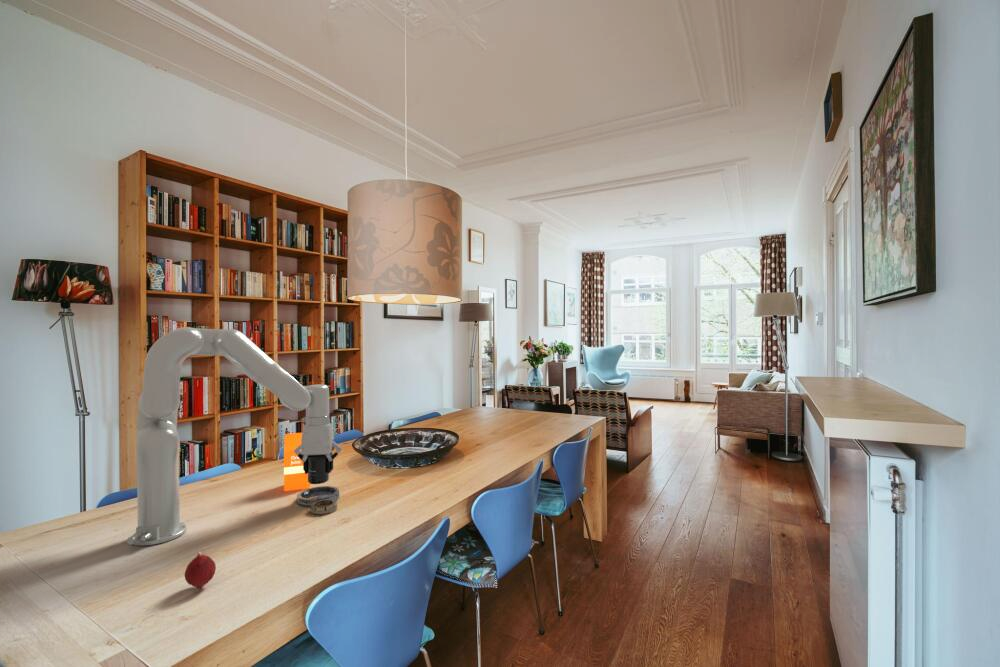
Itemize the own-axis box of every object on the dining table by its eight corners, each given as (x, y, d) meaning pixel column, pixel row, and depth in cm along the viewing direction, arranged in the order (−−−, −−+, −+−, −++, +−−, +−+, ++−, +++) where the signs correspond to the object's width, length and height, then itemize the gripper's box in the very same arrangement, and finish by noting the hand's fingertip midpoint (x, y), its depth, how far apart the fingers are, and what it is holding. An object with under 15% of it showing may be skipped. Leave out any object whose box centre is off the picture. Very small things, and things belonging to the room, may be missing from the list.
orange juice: (310, 488, 166) (309, 434, 166) (283, 491, 163) (283, 436, 163) (310, 481, 174) (310, 429, 174) (285, 484, 170) (285, 431, 170)
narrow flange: (333, 514, 142) (333, 507, 142) (307, 515, 141) (306, 508, 141) (340, 504, 150) (340, 498, 150) (315, 505, 149) (315, 499, 149)
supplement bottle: (306, 485, 151) (305, 449, 151) (309, 479, 158) (308, 444, 158) (328, 483, 153) (327, 448, 153) (330, 477, 160) (329, 443, 159)
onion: (221, 580, 105) (220, 545, 105) (205, 594, 99) (205, 558, 99) (195, 580, 105) (195, 546, 105) (178, 595, 99) (178, 558, 99)
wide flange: (332, 506, 149) (332, 499, 149) (290, 507, 148) (290, 500, 148) (343, 491, 163) (343, 485, 163) (305, 492, 162) (305, 486, 162)
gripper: (287, 423, 151) (288, 476, 151) (340, 422, 152) (341, 474, 152) (295, 419, 158) (296, 469, 158) (346, 418, 160) (347, 468, 160)
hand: (318, 471), depth 155 cm, fingers closed on supplement bottle, 6 cm apart
